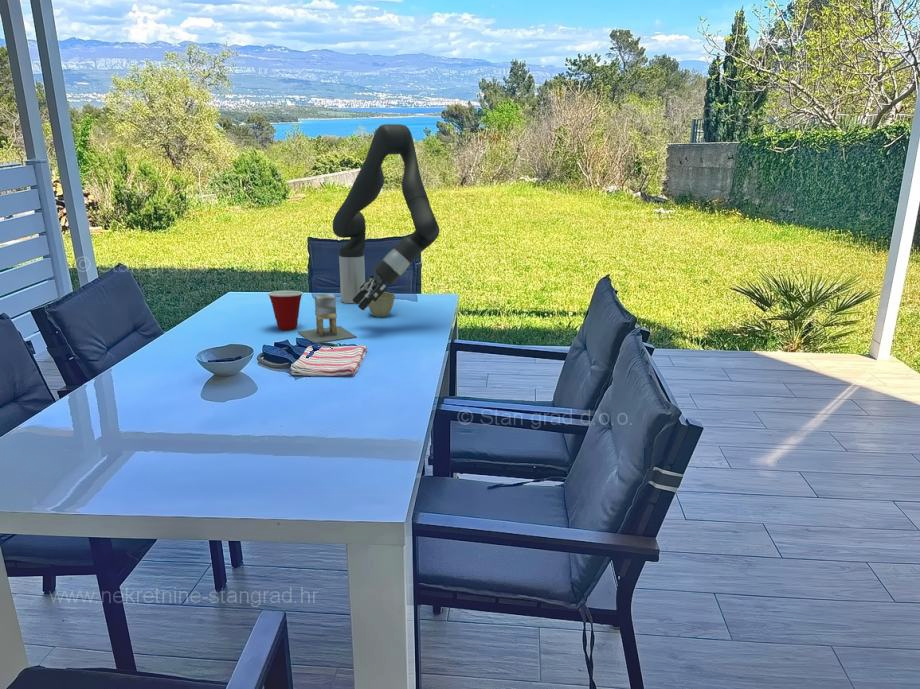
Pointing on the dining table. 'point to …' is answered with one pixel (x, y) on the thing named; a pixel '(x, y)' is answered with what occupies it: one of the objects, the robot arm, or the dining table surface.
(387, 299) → the flower pot
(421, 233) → the robot arm
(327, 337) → the mat
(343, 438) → the dining table surface
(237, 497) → the dining table surface
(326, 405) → the dining table surface
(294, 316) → the plastic cup
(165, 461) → the dining table surface
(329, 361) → the dish towel
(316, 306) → the stool
